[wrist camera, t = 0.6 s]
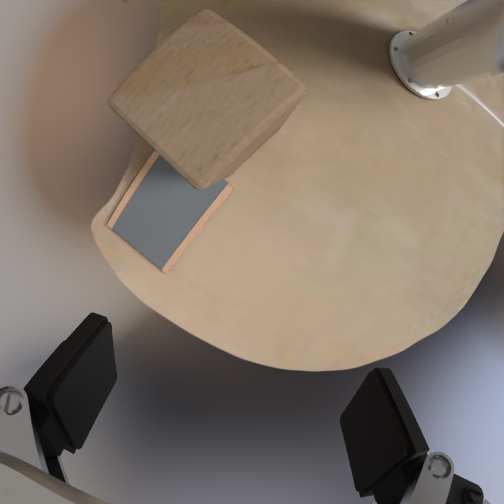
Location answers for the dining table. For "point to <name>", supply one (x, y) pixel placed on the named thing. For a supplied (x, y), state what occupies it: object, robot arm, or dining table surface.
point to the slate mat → (164, 212)
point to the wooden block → (207, 98)
